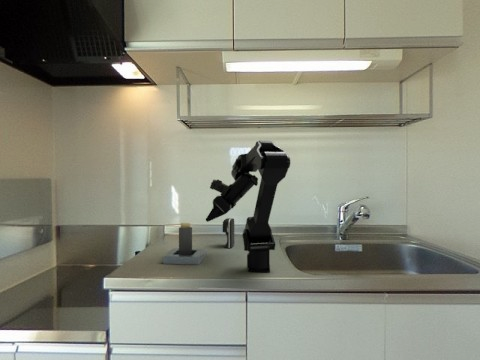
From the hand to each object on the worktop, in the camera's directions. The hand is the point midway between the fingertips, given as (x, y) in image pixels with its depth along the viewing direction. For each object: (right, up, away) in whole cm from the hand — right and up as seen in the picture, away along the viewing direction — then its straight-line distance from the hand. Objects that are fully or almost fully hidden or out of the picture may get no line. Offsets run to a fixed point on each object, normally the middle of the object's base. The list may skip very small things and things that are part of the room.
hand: (209, 219), depth 121 cm
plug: (-8, -14, -3) cm, 16 cm away
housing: (-8, -14, -3) cm, 16 cm away
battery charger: (+6, -13, +18) cm, 23 cm away
